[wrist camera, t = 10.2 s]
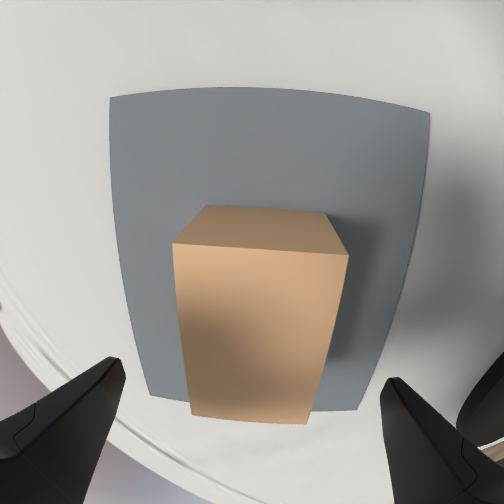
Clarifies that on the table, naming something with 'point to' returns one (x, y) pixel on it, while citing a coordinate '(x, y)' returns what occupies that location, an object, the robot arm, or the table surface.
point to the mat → (267, 205)
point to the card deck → (256, 310)
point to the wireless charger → (484, 408)
